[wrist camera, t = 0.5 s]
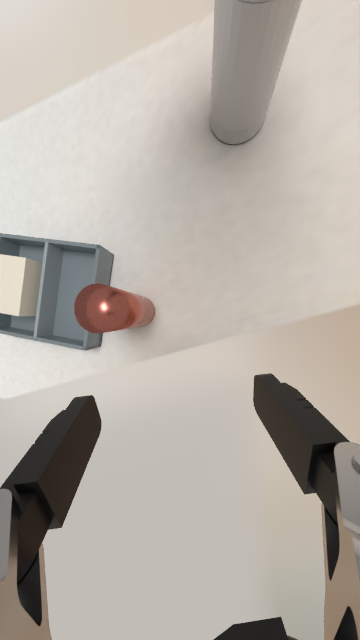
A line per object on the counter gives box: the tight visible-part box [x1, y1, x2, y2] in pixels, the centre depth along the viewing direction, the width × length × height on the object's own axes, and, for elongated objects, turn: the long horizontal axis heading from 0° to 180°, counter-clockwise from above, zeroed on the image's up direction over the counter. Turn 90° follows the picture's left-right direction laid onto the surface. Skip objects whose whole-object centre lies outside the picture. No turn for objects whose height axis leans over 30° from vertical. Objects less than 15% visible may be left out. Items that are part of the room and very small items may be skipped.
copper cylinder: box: [74, 283, 155, 333], centre depth 27 cm, size 6×6×14 cm
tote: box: [0, 233, 113, 350], centre depth 34 cm, size 18×20×4 cm
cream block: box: [0, 254, 42, 316], centre depth 33 cm, size 10×6×5 cm, turn 171°
